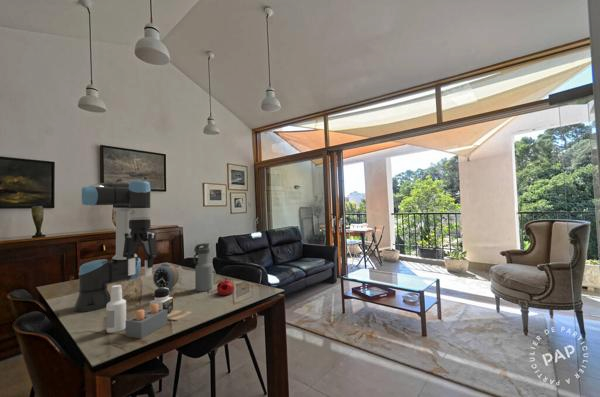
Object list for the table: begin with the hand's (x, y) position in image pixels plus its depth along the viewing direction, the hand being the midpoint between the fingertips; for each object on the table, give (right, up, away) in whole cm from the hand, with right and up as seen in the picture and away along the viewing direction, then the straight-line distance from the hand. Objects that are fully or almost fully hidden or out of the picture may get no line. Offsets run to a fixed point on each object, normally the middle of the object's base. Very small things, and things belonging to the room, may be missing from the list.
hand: (140, 275), depth 106 cm
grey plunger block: (+2, -23, +3) cm, 23 cm away
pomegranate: (+21, -25, +47) cm, 57 cm away
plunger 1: (0, -20, -1) cm, 20 cm away
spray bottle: (-12, -24, +4) cm, 27 cm away
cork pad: (+7, -24, +16) cm, 29 cm away
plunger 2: (+3, -20, +6) cm, 21 cm away
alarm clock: (-15, -26, +49) cm, 57 cm away
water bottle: (+5, -25, +56) cm, 61 cm away
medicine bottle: (-1, -24, +18) cm, 30 cm away
